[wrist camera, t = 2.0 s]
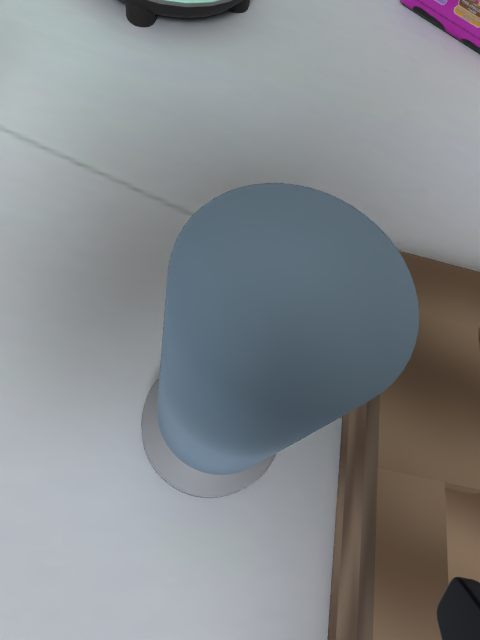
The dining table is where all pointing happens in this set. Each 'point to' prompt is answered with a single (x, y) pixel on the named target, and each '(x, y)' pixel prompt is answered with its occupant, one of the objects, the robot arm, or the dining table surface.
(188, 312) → the keyhole stud
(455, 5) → the candy bar box
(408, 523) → the keyhole board
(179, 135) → the dining table surface
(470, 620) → the robot arm
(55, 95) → the dining table surface
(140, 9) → the mint green blender
